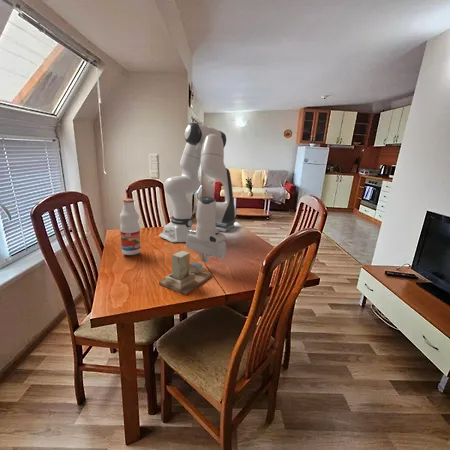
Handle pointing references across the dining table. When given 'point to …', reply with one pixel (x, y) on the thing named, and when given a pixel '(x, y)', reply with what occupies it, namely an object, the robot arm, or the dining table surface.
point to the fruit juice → (129, 228)
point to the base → (185, 282)
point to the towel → (224, 226)
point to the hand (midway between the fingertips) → (204, 261)
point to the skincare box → (180, 265)
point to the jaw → (195, 267)
